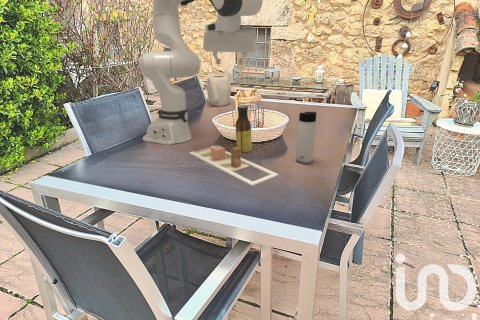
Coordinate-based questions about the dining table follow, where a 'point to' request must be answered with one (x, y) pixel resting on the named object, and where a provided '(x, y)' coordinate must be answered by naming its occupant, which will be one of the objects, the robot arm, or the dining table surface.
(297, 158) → the travel mug
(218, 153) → the terracotta block
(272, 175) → the guide rails
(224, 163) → the pale strip
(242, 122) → the sauce bottle
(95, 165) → the dining table surface
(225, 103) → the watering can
